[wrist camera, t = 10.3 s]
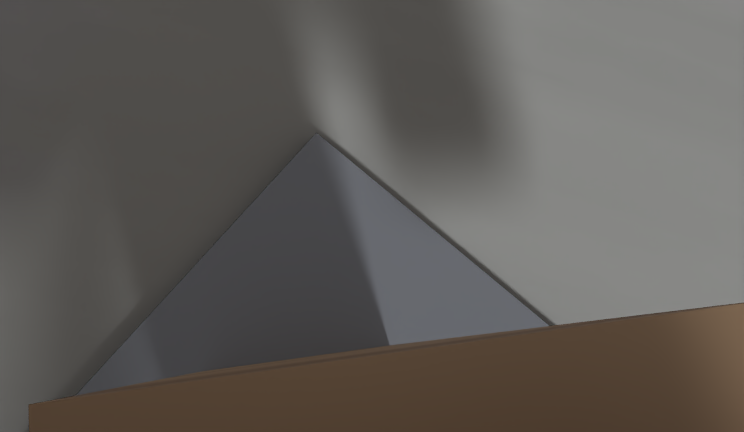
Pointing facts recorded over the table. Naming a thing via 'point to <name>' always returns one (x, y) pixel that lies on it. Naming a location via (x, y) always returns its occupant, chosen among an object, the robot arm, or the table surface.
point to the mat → (314, 282)
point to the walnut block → (456, 385)
